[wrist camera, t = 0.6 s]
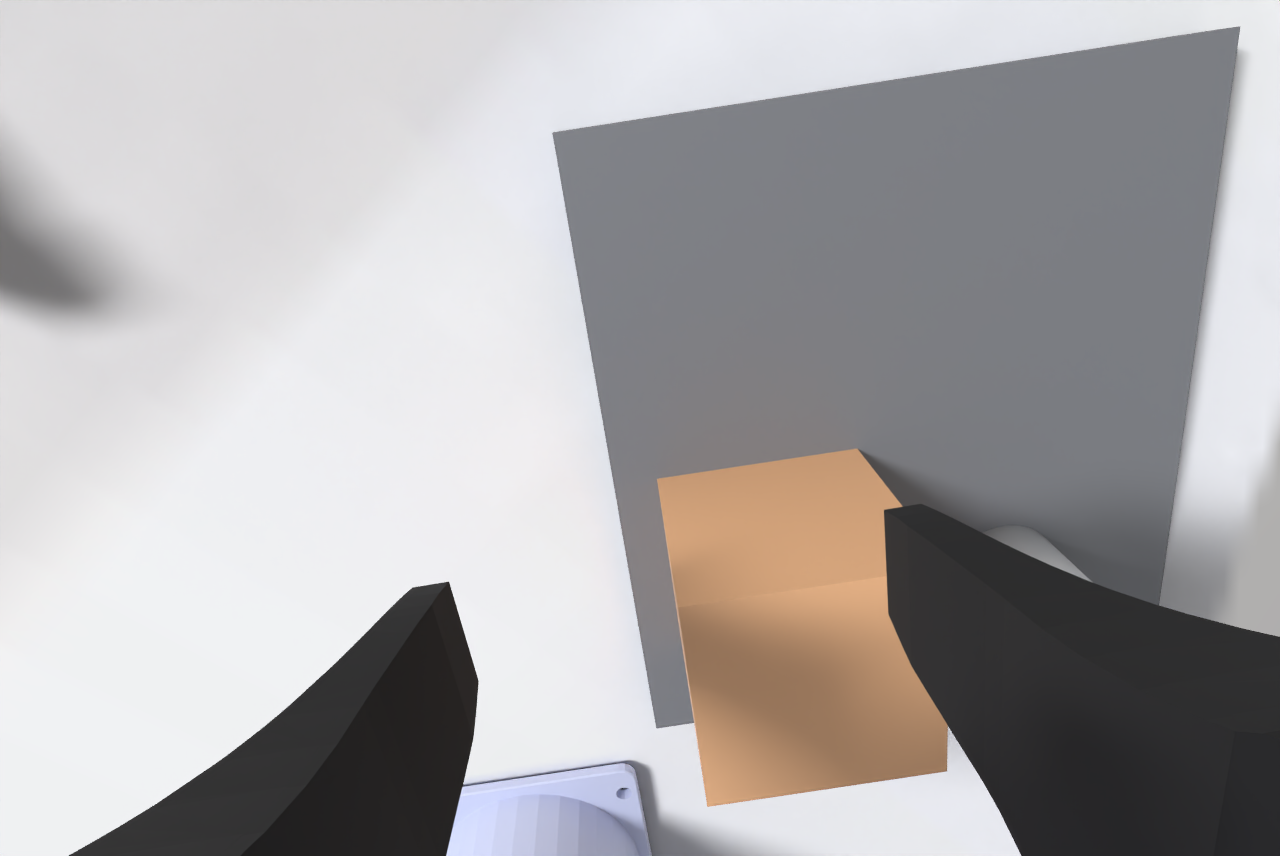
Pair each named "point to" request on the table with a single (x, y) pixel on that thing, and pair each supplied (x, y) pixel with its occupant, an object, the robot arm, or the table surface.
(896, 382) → the duct panel
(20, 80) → the table surface
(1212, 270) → the table surface
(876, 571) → the orange cube
